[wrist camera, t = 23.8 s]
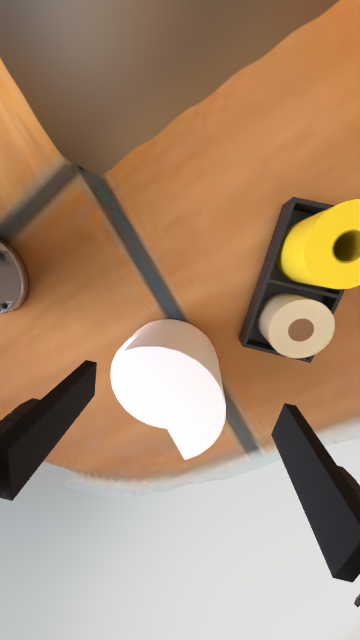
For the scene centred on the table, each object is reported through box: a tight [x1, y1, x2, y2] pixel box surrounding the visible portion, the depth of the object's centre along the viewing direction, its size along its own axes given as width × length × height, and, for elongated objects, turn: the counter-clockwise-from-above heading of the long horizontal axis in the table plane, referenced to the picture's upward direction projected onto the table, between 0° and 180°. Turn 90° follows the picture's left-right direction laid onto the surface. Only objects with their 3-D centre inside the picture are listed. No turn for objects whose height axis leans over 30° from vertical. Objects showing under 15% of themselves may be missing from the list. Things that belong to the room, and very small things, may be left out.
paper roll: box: [256, 293, 335, 358], centre depth 32 cm, size 9×9×7 cm
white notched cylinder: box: [110, 319, 226, 460], centre depth 35 cm, size 20×20×13 cm
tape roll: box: [276, 199, 360, 289], centre depth 28 cm, size 10×10×9 cm
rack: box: [239, 197, 345, 363], centre depth 33 cm, size 12×24×4 cm, turn 168°
